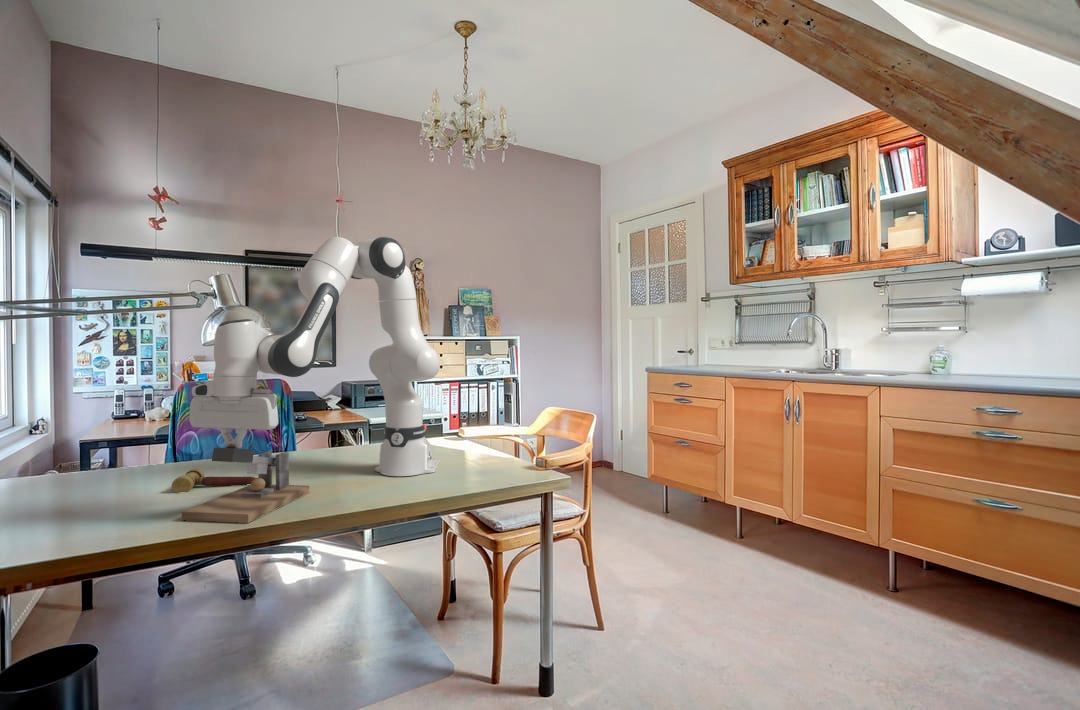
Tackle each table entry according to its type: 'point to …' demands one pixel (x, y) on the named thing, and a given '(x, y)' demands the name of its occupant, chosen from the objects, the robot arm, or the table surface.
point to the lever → (244, 459)
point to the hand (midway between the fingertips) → (233, 447)
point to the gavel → (205, 481)
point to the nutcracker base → (251, 497)
